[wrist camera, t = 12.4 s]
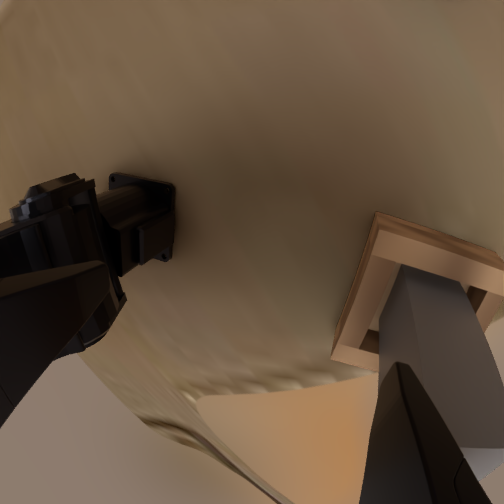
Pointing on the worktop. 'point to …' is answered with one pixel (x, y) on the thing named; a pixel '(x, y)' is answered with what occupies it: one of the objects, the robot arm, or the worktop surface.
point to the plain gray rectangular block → (446, 361)
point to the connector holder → (418, 256)
